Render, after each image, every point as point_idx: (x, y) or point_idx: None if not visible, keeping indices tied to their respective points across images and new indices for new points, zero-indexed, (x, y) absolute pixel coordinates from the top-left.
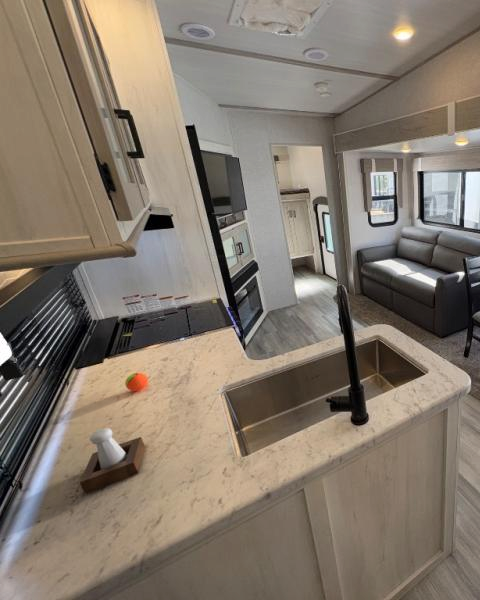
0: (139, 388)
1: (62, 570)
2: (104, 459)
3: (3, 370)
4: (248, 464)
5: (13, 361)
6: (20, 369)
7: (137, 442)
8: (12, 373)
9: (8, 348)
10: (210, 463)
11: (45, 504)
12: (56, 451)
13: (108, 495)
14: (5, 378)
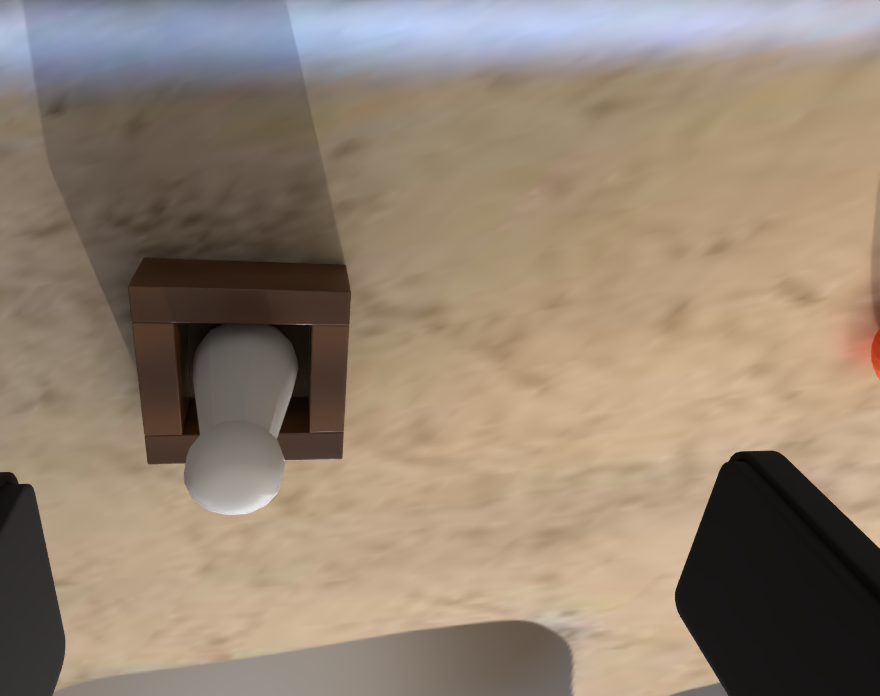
0: (872, 352)
1: None
2: (199, 387)
3: (844, 646)
4: None
5: None
6: None
7: (302, 454)
8: (742, 624)
9: None
10: (64, 628)
11: (171, 105)
12: (621, 47)
13: (76, 344)
14: (739, 494)
